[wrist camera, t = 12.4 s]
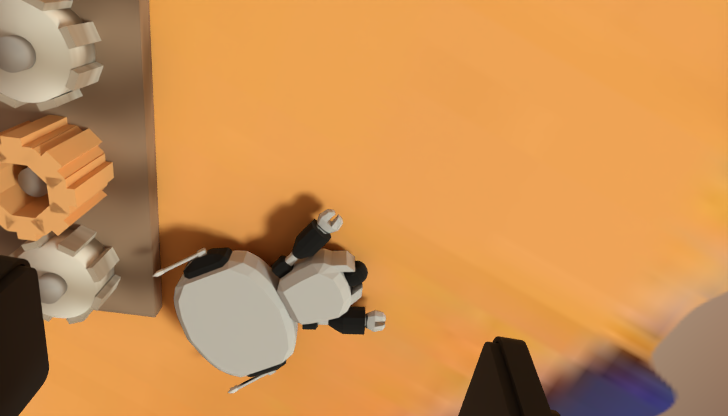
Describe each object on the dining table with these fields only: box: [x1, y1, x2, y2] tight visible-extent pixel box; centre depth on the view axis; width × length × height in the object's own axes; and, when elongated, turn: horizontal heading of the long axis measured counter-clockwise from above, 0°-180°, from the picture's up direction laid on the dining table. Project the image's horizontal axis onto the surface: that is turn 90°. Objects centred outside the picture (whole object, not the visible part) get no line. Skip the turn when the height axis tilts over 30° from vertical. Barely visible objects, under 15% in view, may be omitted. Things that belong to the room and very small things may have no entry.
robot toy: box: [153, 209, 386, 393], centre depth 41 cm, size 12×4×15 cm
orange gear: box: [0, 115, 114, 241], centre depth 34 cm, size 7×7×5 cm
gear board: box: [0, 0, 162, 324], centre depth 36 cm, size 25×12×6 cm, turn 173°
